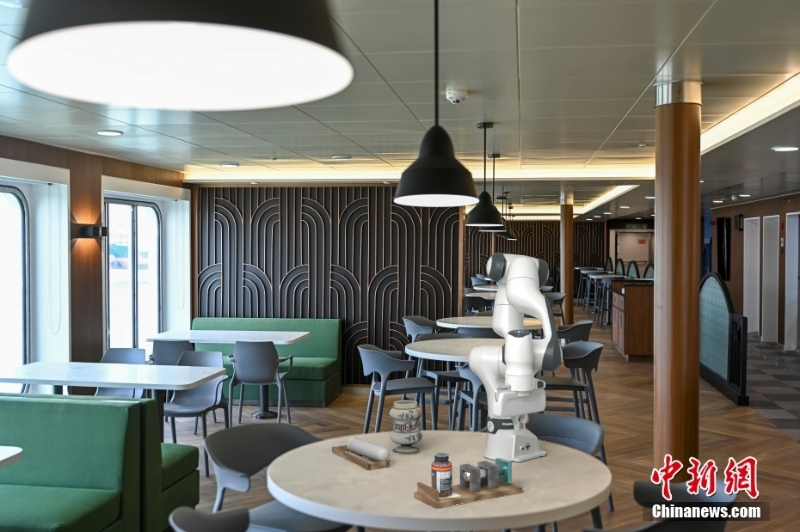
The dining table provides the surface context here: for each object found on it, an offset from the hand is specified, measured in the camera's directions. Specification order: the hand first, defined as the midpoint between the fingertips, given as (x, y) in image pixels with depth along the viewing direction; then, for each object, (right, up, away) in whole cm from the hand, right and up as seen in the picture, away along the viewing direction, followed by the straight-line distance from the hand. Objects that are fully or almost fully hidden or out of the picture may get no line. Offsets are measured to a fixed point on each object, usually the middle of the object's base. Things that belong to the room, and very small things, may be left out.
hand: (519, 429), depth 224 cm
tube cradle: (-51, -18, +32) cm, 62 cm away
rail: (-16, -17, -10) cm, 25 cm away
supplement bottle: (-25, -16, -14) cm, 32 cm away
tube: (-50, -15, +32) cm, 61 cm away
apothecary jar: (-34, -18, +44) cm, 58 cm away
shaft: (-11, -15, -6) cm, 19 cm away
